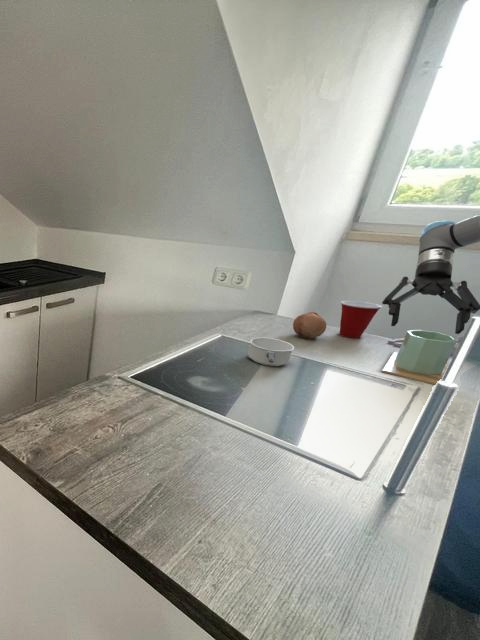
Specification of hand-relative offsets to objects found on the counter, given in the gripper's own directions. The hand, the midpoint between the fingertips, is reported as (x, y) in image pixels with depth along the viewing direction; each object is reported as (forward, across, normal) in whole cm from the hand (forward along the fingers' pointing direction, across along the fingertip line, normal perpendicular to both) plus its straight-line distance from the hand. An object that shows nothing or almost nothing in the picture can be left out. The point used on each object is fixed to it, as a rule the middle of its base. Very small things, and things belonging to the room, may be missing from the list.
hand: (425, 327), depth 114 cm
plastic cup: (-5, -13, +21) cm, 25 cm away
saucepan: (+26, -36, -10) cm, 46 cm away
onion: (+1, -26, +14) cm, 29 cm away
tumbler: (+12, 0, -5) cm, 13 cm away
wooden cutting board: (+12, 0, +3) cm, 12 cm away
